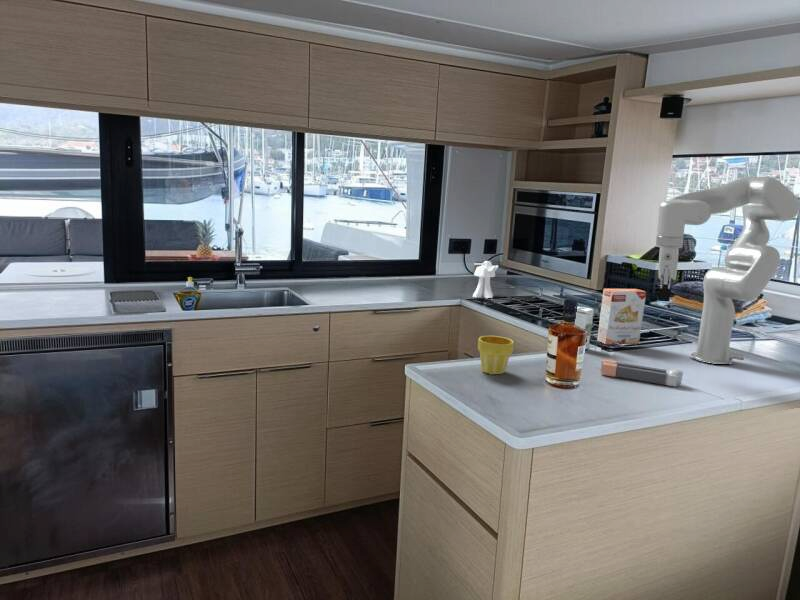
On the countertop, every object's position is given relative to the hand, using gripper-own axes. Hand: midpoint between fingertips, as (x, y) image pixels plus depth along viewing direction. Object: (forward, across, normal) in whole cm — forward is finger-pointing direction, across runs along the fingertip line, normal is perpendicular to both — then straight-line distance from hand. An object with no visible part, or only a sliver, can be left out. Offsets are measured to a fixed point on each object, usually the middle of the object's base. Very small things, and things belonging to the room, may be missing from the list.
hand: (663, 300), depth 186 cm
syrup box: (+21, +8, +26) cm, 34 cm away
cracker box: (+22, +20, +14) cm, 33 cm away
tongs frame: (+21, -18, +4) cm, 28 cm away
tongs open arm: (+21, -15, +7) cm, 27 cm away
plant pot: (+19, -35, +44) cm, 59 cm away
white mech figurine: (+23, +86, +84) cm, 122 cm away
